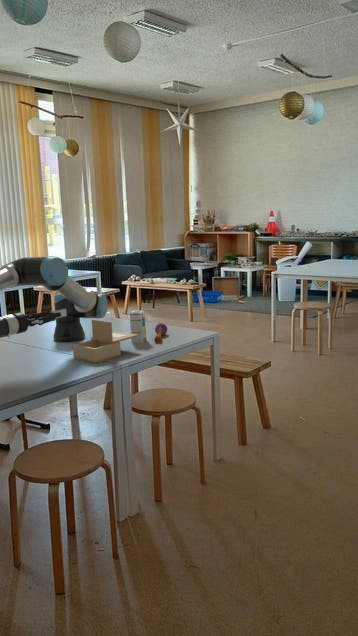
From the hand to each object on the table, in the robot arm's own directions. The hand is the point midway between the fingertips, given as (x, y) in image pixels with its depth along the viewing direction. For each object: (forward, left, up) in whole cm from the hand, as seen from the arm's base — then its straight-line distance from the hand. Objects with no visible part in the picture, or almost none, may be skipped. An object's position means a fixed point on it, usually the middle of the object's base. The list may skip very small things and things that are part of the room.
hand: (65, 312), depth 227 cm
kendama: (-1, +56, -22) cm, 60 cm away
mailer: (0, +15, -22) cm, 26 cm away
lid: (0, +25, -16) cm, 30 cm away
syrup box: (-5, +45, -22) cm, 50 cm away
